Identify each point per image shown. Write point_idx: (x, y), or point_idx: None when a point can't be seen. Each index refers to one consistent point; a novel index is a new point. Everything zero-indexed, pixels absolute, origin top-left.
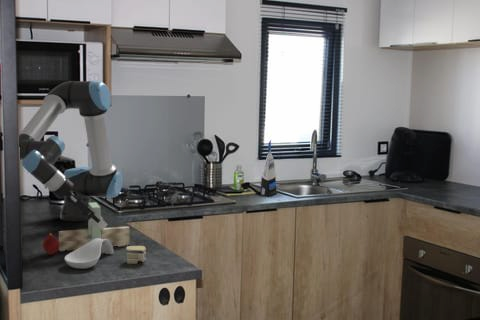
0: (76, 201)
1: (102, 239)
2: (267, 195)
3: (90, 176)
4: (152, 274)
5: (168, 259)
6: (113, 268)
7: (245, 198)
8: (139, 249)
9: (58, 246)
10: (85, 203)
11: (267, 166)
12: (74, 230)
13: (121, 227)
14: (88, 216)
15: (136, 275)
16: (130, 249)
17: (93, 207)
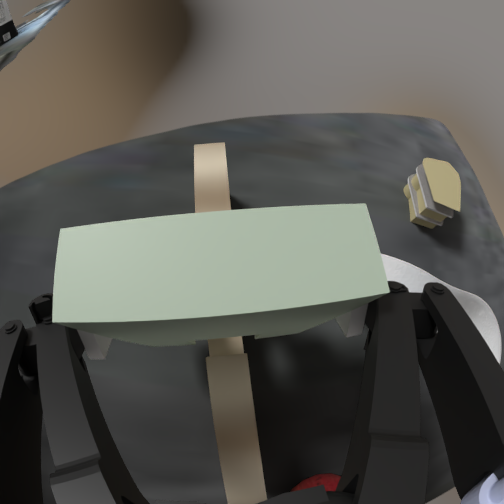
0: (481, 474)
1: (419, 279)
2: (16, 34)
3: None
4: (481, 194)
5: (388, 133)
6: (467, 269)
7: (3, 49)
8: (454, 178)
9: (339, 476)
10: (61, 358)
11: (5, 7)
12: (228, 434)
13: (209, 171)
14: (435, 336)
15: (491, 225)
16: (459, 200)
17: (381, 277)
